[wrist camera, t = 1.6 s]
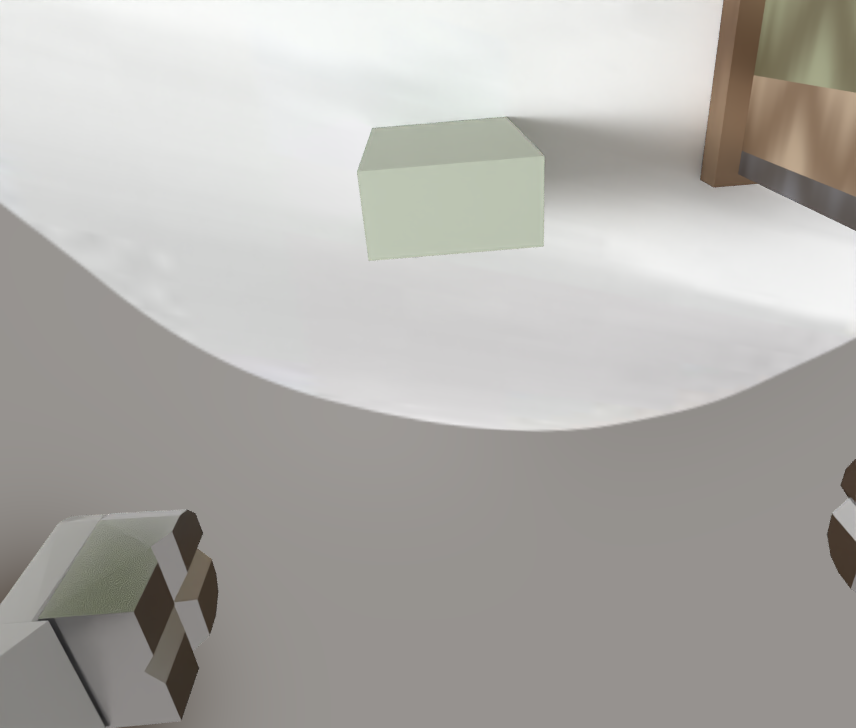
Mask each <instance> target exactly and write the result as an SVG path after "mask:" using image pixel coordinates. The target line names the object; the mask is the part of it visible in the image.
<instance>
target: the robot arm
mask: <svg viewBox="0 0 856 728" xmlns="http://www.w3.org/2000/svg"><path fill="white" fill-rule="evenodd" d="M841 487H842V489H843V490H844V492H845V493H846V495H847V496H848V499H847V500H846V501H845V502H844V503H843V504H842V505H841V506H840V507H838V508H837V509H836V510H835V511H834V512H833V513H832V515H831V519H830V524H829V528H828V532H827V537H828V543H829V549H830V556H831V558H832V560H833V562H834V564H835V567H836V569H837V571H838V573H839V574H840V575H841V577H842V578H843V579H844V580H845V582H846V583H847V585H848V586H849V587H850V589H851V590H853V591H855V592H856V459H855V460H854V461H853V462H852V463H851V464H850V465H849V466H848V467H847V468H846V470H845V473H844V476H843V479H842V482H841ZM202 535H203V531H202V529H201V526H200V524H199V521H198V518H197V516H196V514H195V513H194V512H192V511H189V510H187V509H186V510H167V511H149V512H129V513H112V514H109V515H86V516H71V517H69V518H67V519H65V520H63V521H61V522H59V523H58V525H57V526H56V527H55V529H54V530H53V531H52V533H51V534H50V536H49V537H48V538H47V540H46V542H45V543H44V544H43V546H42V547H41V548H40V550H39V551H38V553H37V554H36V555H35V557H34V558H33V560H32V561H31V562H30V564H29V565H28V567H27V568H26V569H25V571H24V572H23V574H22V575H21V577H20V578H19V579H18V581H17V582H16V583H15V585H14V586H13V588H12V589H11V590H10V592H9V593H8V595H7V596H6V598H5V599H4V600H3V602H2V603H1V605H0V728H117V727H126V726H137V725H146V724H157V723H166V722H177V721H182V718H183V715H184V712H185V709H186V706H187V703H188V700H189V697H190V694H191V691H192V688H193V685H194V682H195V679H196V676H197V673H198V670H199V666H198V664H197V661H196V658H195V656H194V653H193V651H194V650H195V649H196V648H197V647H198V646H199V645H200V644H201V643H202V642H204V641H205V640H206V639H207V638H208V637H209V636H210V633H211V630H212V627H213V623H214V620H215V617H216V611H217V600H218V583H217V576H216V571H215V568H214V565H213V561H212V559H211V558H209V557H208V556H207V555H205V554H204V553H203V552H201V551H200V550H199V549H197V547H198V545H199V542H200V540H201V538H202Z"/></svg>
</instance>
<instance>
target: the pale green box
mask: <svg viewBox="0 0 856 728" xmlns="http://www.w3.org/2000/svg"><path fill="white" fill-rule="evenodd" d="M544 166H545V156H544V155H543V154H542V153H541V152H540V151H539V149H538V148H537V147H536V146H535V145H534V144H533V143H532V142H531V141H530V140H529V139H528V138H527V137H526V136H525V135H524V134H523V133H522V132H521V131H520V130H519V129H518V128H517V127H516V126H515V125H514V124H513V123H512V122H511V121H510V120H509V119H508V118H507V117H497V118H485V119H474V120H462V121H451V122H439V123H427V124H416V125H404V126H392V127H381V128H372V130H371V133H370V136H369V139H368V141H367V144H366V147H365V150H364V153H363V156H362V159H361V162H360V165H359V168H358V170H357V175H358V183H359V190H360V198H361V206H362V214H363V221H364V229H365V237H366V245H367V252H368V260H369V261H374V260H386V259H398V258H410V257H422V256H434V255H447V254H459V253H471V252H483V251H495V250H507V249H519V248H531V247H543V246H544Z"/></svg>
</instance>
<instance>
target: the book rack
mask: <svg viewBox="0 0 856 728" xmlns="http://www.w3.org/2000/svg"><path fill="white" fill-rule="evenodd" d="M700 180H702V181H703V182H705V183H707V184H709V185H710V186H712V187H724V186H736V185H748V184H760V185H762V186H764V187H766V188H768V189H770V190H772V191H774V192H776V193H778V194H781V195H783V196H785V197H787V198H789V199H791V200H793V201H795V202H797V203H799V204H801V205H803V206H805V207H808V208H810V209H812V210H814V211H816V212H818V213H820V214H822V215H824V216H826V217H828V218H830V219H833V220H835V221H837V222H839V223H841V224H843V225H845V226H847V227H849V228H851V229H853V230H855V231H856V0H724V2H723V9H722V17H721V25H720V32H719V40H718V48H717V55H716V63H715V70H714V78H713V86H712V93H711V101H710V109H709V116H708V124H707V132H706V139H705V147H704V155H703V162H702V170H701V178H700Z"/></svg>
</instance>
